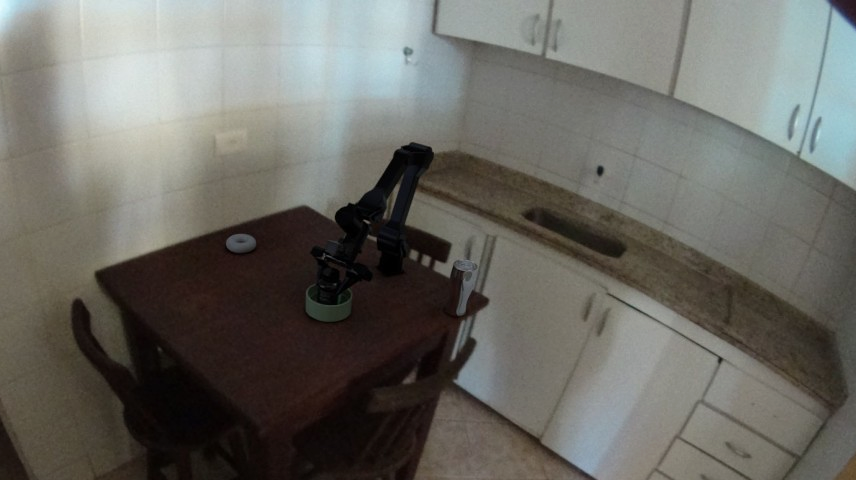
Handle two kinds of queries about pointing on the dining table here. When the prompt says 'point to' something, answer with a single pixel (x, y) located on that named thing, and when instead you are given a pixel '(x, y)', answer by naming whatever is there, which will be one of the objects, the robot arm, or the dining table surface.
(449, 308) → the beer glass
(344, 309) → the green round bowl
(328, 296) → the supplement bottle
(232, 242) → the donut
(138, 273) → the dining table surface
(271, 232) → the dining table surface
